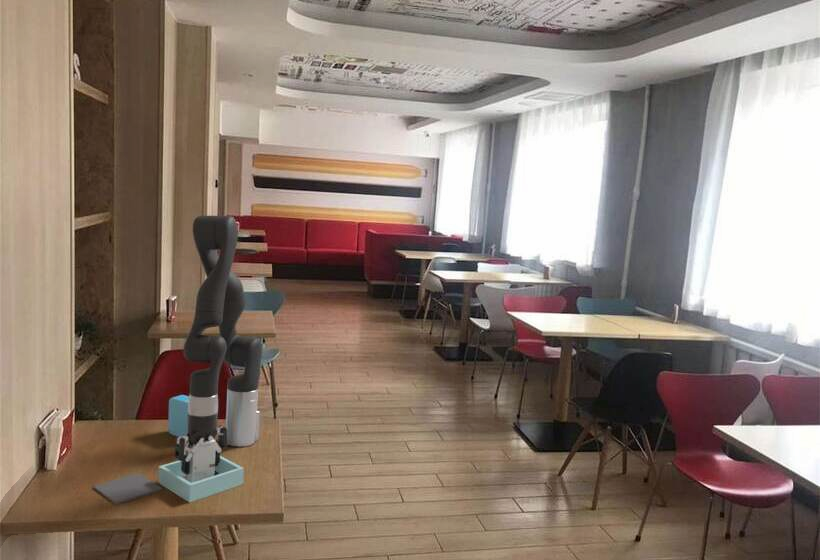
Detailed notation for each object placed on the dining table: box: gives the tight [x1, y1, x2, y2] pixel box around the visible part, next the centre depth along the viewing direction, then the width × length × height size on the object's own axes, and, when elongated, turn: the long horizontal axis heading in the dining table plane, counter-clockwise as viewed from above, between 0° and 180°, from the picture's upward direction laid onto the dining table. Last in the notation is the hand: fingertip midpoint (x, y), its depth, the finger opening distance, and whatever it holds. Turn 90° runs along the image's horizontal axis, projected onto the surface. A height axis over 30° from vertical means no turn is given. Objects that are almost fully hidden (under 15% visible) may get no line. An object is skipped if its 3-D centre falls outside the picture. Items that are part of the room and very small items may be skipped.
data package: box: [167, 394, 189, 437], centre depth 206 cm, size 12×4×12 cm, turn 61°
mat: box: [92, 472, 163, 505], centre depth 169 cm, size 12×12×1 cm
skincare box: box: [187, 439, 217, 483], centre depth 175 cm, size 6×4×12 cm
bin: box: [157, 455, 245, 503], centre depth 175 cm, size 16×15×4 cm
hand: (200, 469), depth 175 cm, fingers open, 8 cm apart
